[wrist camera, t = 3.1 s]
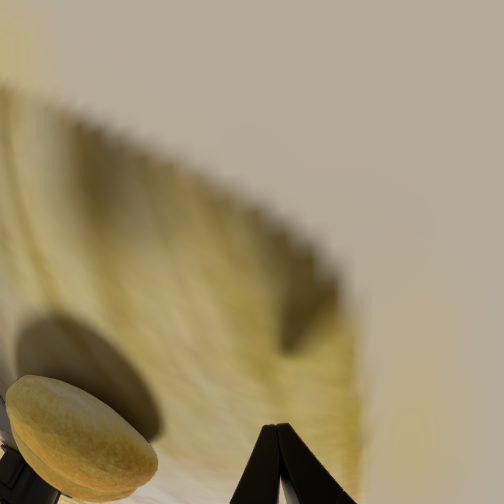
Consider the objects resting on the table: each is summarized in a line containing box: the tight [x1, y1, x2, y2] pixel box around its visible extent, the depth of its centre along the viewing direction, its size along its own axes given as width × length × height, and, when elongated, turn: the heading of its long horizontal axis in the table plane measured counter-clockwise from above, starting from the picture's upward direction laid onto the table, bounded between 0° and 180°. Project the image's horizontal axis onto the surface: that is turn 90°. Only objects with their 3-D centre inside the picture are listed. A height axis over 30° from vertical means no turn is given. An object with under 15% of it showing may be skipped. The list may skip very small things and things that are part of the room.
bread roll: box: [5, 375, 158, 502], centre depth 8 cm, size 8×9×4 cm
